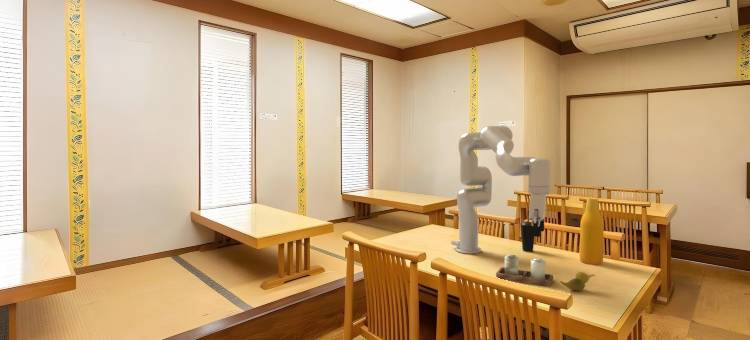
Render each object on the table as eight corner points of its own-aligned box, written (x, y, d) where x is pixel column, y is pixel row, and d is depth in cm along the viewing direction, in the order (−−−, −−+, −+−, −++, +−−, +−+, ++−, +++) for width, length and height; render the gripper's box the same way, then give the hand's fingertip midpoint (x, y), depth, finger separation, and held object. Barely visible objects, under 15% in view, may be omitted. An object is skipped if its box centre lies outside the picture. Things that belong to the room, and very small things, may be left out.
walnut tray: (496, 278, 156) (496, 256, 155) (501, 271, 164) (501, 251, 163) (550, 286, 146) (550, 264, 145) (553, 279, 153) (553, 257, 153)
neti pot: (599, 290, 142) (599, 272, 141) (563, 294, 138) (564, 276, 138) (589, 285, 146) (590, 269, 146) (555, 290, 143) (555, 272, 142)
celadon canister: (529, 281, 151) (529, 259, 151) (531, 277, 156) (532, 256, 155) (543, 284, 148) (544, 261, 148) (545, 280, 153) (546, 258, 152)
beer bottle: (581, 257, 181) (582, 196, 179) (603, 261, 176) (605, 197, 174) (578, 262, 174) (579, 198, 172) (601, 266, 168) (603, 200, 166)
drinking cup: (537, 253, 190) (538, 212, 188) (521, 252, 191) (521, 212, 190) (534, 248, 197) (534, 210, 196) (518, 248, 199) (518, 209, 197)
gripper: (532, 187, 159) (531, 227, 160) (524, 192, 144) (523, 237, 146) (552, 188, 155) (551, 230, 156) (546, 193, 140) (544, 239, 142)
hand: (537, 233), depth 151 cm, fingers open, 9 cm apart
